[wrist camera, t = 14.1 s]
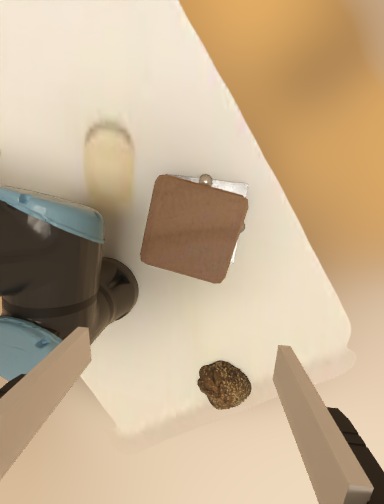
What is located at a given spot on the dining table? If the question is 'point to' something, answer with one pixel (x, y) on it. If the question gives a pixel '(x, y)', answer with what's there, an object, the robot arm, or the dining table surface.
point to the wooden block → (192, 228)
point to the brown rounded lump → (224, 385)
